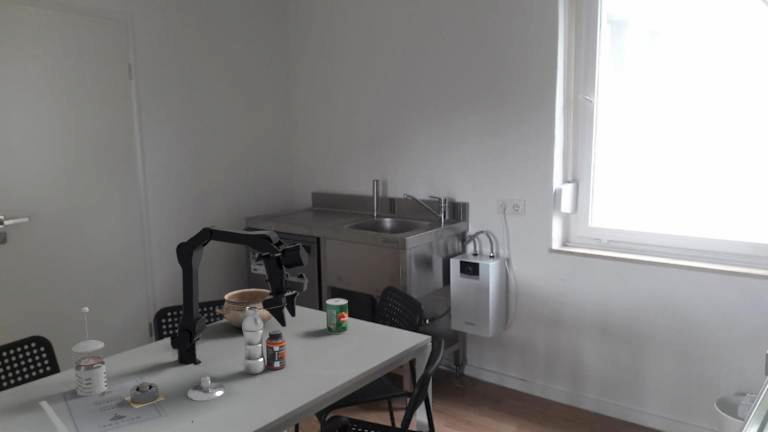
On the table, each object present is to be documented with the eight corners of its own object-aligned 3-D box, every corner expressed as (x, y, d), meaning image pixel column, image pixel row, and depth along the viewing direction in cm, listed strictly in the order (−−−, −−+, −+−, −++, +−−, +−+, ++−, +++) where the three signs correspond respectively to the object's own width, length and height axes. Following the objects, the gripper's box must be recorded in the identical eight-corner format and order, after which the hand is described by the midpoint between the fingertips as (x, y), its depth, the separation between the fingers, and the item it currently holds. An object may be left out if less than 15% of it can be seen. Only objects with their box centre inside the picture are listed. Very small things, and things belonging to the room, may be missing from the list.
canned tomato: (347, 334, 212) (346, 304, 210) (325, 334, 212) (324, 304, 210) (349, 326, 220) (348, 298, 218) (327, 326, 220) (327, 298, 218)
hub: (181, 395, 165) (180, 375, 164) (215, 384, 171) (214, 365, 170) (197, 407, 157) (196, 386, 156) (231, 395, 164) (230, 376, 163)
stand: (124, 401, 161) (123, 382, 160) (154, 392, 166) (152, 373, 166) (135, 411, 155) (133, 391, 154) (165, 402, 161) (164, 382, 160)
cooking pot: (224, 341, 207) (222, 307, 205) (209, 326, 223) (207, 294, 221) (291, 327, 220) (290, 295, 218) (272, 314, 236) (271, 284, 234)
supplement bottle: (282, 371, 180) (280, 335, 179) (263, 369, 182) (262, 334, 180) (289, 363, 186) (287, 328, 184) (271, 362, 187) (269, 327, 186)
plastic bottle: (247, 378, 176) (244, 313, 173) (241, 370, 181) (238, 307, 178) (268, 373, 178) (265, 309, 175) (262, 366, 184) (259, 303, 181)
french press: (85, 404, 160) (77, 315, 157) (61, 394, 166) (53, 308, 163) (118, 390, 168) (111, 305, 165) (94, 381, 175) (87, 299, 171)
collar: (128, 398, 161) (127, 387, 161) (152, 391, 165) (151, 380, 165) (137, 406, 156) (136, 395, 156) (161, 398, 161) (161, 388, 160)
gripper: (291, 274, 167) (305, 326, 168) (309, 260, 185) (322, 307, 187) (254, 282, 169) (269, 334, 170) (276, 267, 187) (289, 314, 189)
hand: (289, 321), depth 179 cm, fingers open, 9 cm apart
